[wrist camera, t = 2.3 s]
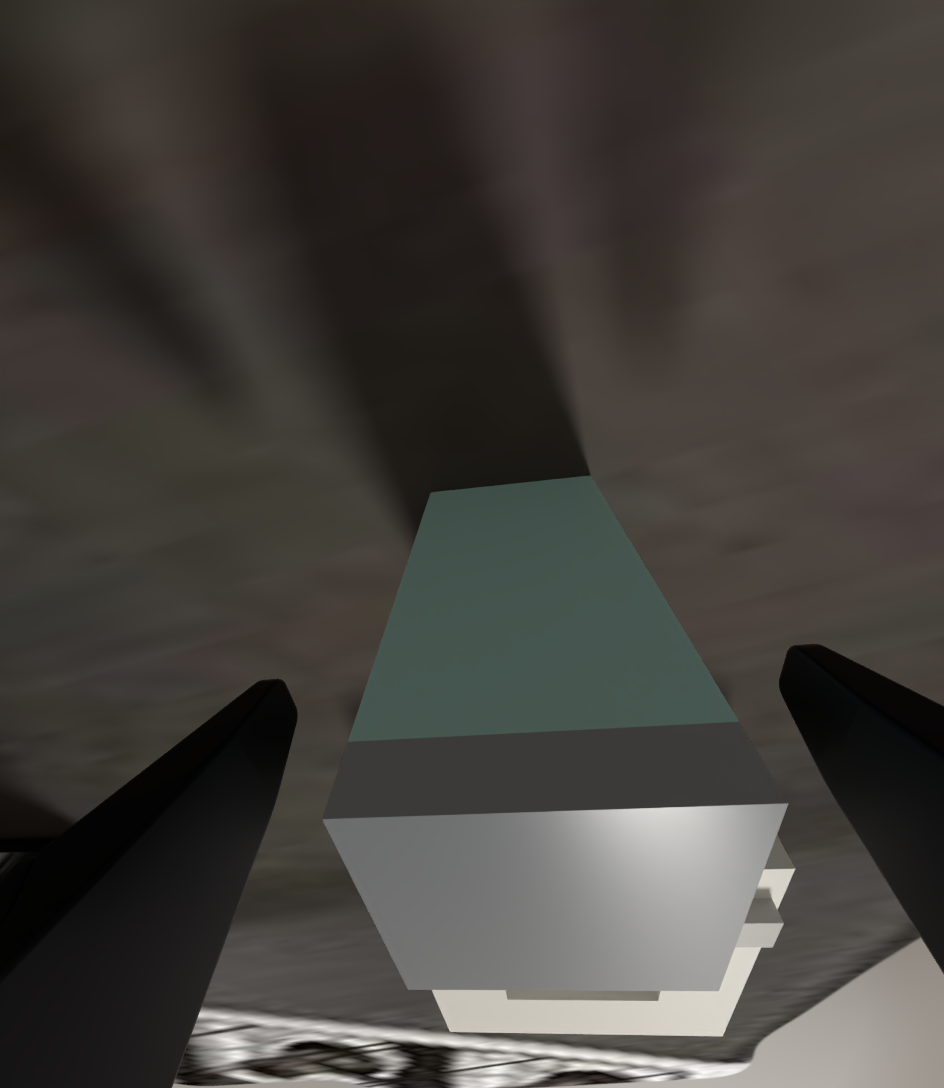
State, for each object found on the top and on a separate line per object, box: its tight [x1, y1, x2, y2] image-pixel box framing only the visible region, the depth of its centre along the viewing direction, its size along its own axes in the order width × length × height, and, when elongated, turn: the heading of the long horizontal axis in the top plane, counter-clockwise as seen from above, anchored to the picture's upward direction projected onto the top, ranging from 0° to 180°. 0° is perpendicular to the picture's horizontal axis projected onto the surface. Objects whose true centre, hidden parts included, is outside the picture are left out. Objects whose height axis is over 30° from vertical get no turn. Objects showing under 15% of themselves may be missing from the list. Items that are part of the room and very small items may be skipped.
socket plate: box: [432, 836, 795, 1036], centre depth 17 cm, size 12×14×4 cm
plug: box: [322, 475, 788, 991], centre depth 8 cm, size 4×4×8 cm
